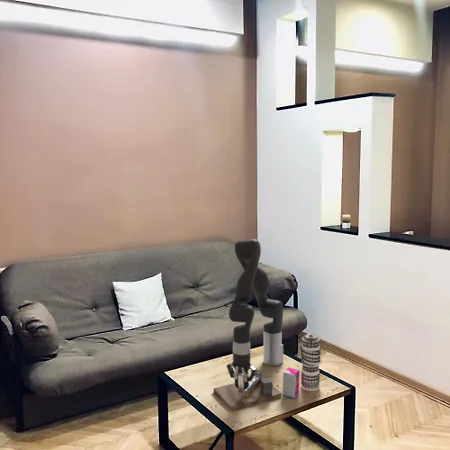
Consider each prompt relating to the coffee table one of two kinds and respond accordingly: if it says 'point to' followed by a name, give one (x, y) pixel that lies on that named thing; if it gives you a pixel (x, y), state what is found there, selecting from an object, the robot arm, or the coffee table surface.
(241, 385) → the lever
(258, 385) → the brown board
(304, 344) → the white patterned cylinder
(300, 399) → the coffee table surface
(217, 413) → the coffee table surface
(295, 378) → the supplement box
